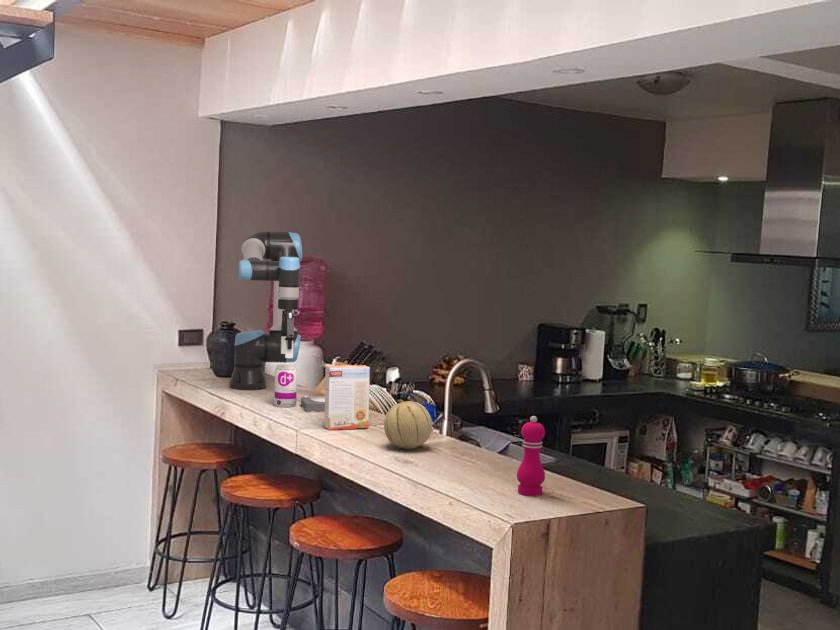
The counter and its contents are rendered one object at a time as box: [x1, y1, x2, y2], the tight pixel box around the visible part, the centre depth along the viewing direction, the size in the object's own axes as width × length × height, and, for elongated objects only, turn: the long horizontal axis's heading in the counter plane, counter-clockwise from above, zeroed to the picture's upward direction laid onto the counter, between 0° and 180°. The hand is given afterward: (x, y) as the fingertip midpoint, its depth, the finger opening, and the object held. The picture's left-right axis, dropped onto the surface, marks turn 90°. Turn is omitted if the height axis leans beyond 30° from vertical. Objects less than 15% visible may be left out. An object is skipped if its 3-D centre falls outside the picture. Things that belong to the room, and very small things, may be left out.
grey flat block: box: [300, 394, 325, 412], centre depth 358 cm, size 14×16×4 cm
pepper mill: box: [516, 415, 546, 497], centre depth 247 cm, size 7×7×20 cm
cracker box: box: [323, 364, 371, 431], centre depth 322 cm, size 14×6×21 cm, turn 110°
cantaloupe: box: [383, 398, 433, 450], centre depth 295 cm, size 15×15×15 cm
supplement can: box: [273, 364, 298, 408], centre depth 360 cm, size 8×8×15 cm
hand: (286, 355), depth 358 cm, fingers open, 13 cm apart
